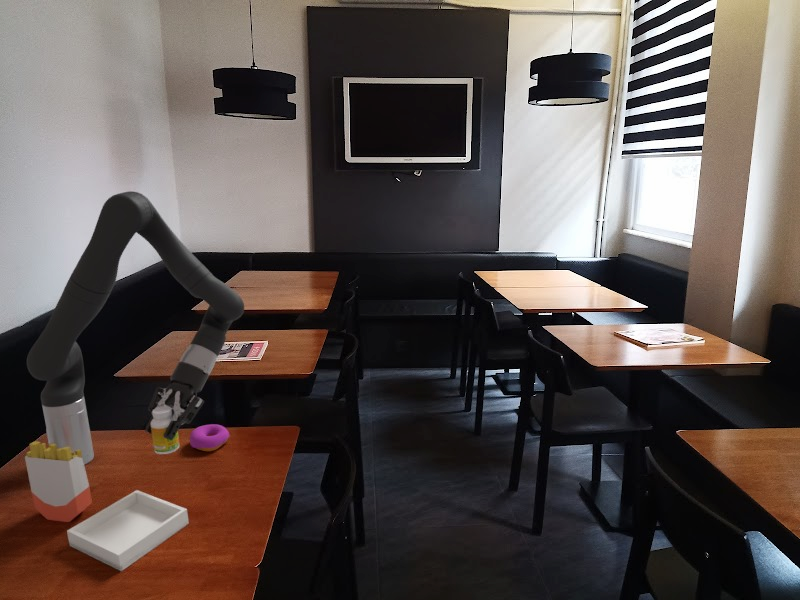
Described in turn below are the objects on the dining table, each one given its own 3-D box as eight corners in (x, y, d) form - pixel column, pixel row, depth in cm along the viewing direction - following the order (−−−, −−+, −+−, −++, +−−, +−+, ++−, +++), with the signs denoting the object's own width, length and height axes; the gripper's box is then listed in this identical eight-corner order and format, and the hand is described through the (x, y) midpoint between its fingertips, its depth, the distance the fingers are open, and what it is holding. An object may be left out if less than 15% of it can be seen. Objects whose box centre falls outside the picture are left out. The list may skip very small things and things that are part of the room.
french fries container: (53, 506, 125) (39, 433, 121) (95, 511, 123) (82, 437, 119) (36, 518, 121) (21, 443, 117) (79, 523, 119) (65, 447, 115)
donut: (212, 456, 146) (210, 440, 145) (181, 450, 149) (179, 434, 148) (237, 438, 155) (235, 423, 154) (207, 433, 159) (206, 418, 158)
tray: (69, 545, 112) (66, 530, 111) (138, 503, 126) (136, 489, 125) (121, 571, 104) (118, 555, 104) (188, 523, 118) (186, 509, 117)
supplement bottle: (170, 456, 123) (165, 415, 121) (149, 453, 124) (143, 413, 122) (184, 444, 128) (179, 405, 126) (163, 442, 129) (158, 403, 127)
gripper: (162, 356, 131) (124, 423, 124) (206, 365, 125) (169, 436, 117) (183, 369, 137) (148, 434, 130) (226, 379, 131) (191, 448, 123)
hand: (158, 435), depth 124 cm, fingers closed on supplement bottle, 5 cm apart
